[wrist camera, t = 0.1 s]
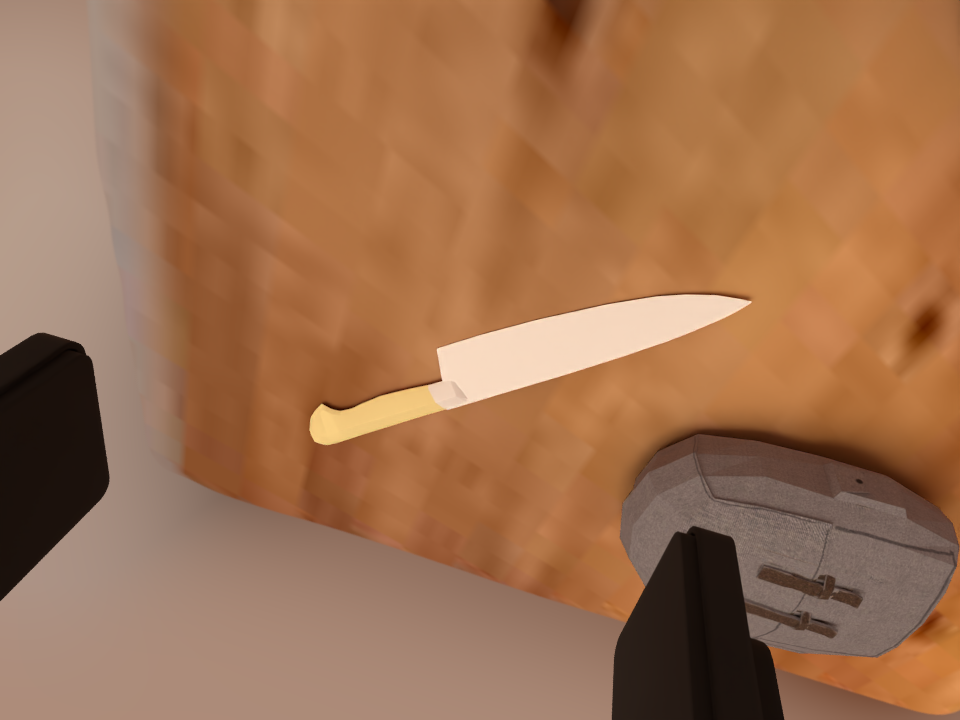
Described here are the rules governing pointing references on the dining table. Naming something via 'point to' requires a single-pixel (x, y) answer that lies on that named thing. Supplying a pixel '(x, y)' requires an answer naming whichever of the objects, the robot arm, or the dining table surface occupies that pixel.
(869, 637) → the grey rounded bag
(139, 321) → the dining table surface
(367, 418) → the knife
